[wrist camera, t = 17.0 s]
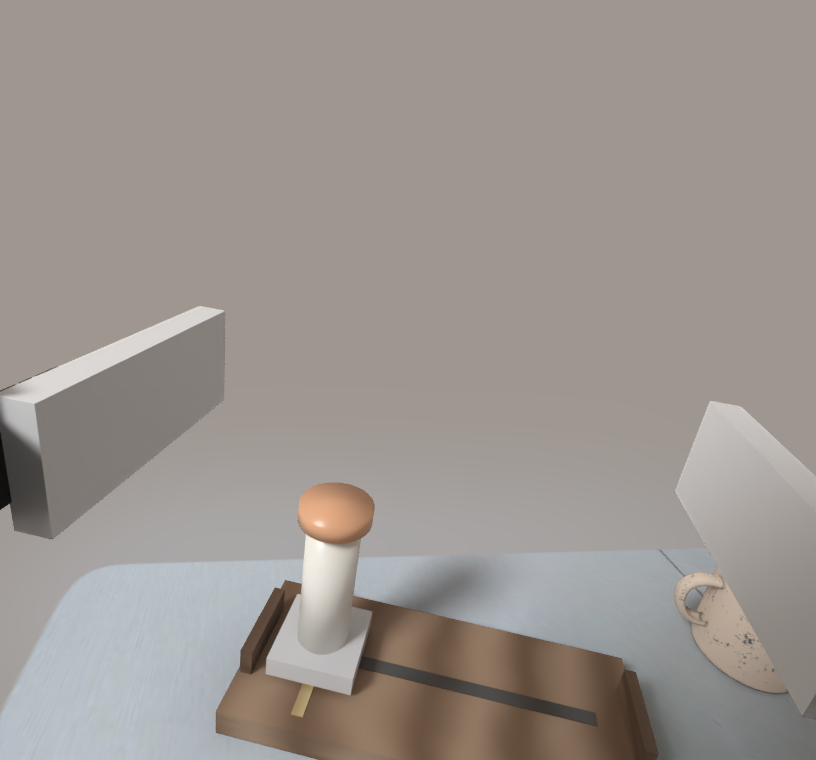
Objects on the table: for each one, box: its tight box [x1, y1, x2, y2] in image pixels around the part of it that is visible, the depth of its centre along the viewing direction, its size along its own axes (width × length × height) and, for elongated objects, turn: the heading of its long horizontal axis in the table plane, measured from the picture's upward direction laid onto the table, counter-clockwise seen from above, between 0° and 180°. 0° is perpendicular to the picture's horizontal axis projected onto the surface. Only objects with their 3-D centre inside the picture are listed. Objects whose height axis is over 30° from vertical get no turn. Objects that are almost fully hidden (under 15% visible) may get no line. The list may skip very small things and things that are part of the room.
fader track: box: [216, 580, 658, 760], centre depth 38 cm, size 28×12×4 cm, turn 81°
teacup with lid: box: [674, 566, 788, 693], centre depth 46 cm, size 12×9×12 cm
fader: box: [266, 483, 374, 695], centre depth 37 cm, size 6×6×13 cm
